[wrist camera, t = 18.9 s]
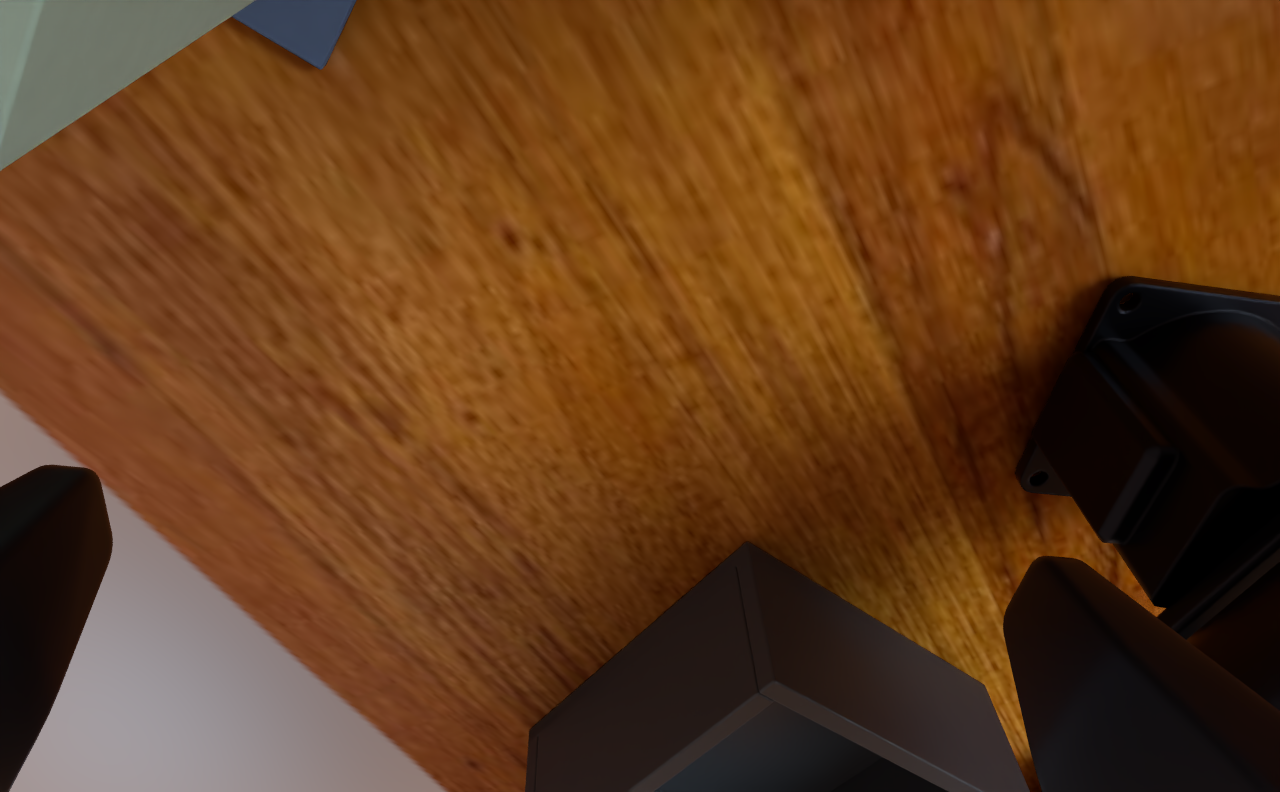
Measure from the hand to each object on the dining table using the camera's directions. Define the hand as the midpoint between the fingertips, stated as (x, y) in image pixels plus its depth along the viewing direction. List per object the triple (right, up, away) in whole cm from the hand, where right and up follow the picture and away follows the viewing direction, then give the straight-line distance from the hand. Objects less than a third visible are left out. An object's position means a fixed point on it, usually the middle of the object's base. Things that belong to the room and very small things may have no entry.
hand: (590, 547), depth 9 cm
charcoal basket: (+4, -9, +22) cm, 24 cm away
